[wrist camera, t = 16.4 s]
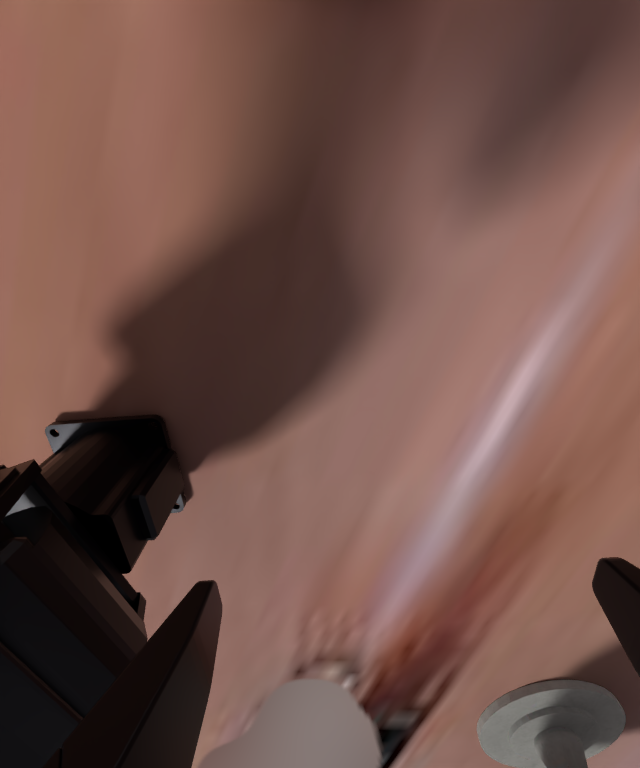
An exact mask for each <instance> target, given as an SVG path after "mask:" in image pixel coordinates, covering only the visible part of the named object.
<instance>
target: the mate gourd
mask: <svg viewBox="0 0 640 768" xmlns="http://www.w3.org/2000/svg"><path fill="white" fill-rule="evenodd" d="M625 724H626V715H625V712H624V710H623V708H622V706H621V705H620V703H619V701H618V700H617V699H616V697H615V696H614V695H613V694H612V693H611V692H610V691H608V690H607V689H605V688H604V687H601V686H599V685H596V684H593V683H590V682H585V681H580V680H550V681H544V682H539V683H534V684H530V685H527V686H524V687H520V688H518V689H516V690H513V691H511V692H509V693H507V694H505V695H503V696H502V697H500V698H498V699H497V700H495V701H494V702H493V703H492V704H491V705H489V706H488V707H487V708H486V709H485V711H484V712H483V713H482V714H481V716H480V718H479V721H478V723H477V734H478V738H479V741H480V744H481V747H482V749H483V750H484V751H485V753H486V754H487V755H488V756H490V757H491V758H492V759H494V760H496V761H498V762H500V763H502V764H505V765H509V766H512V767H518V768H588V767H587V762H586V759H587V758H590V757H592V756H594V755H596V754H598V753H600V752H601V751H603V750H604V749H606V748H607V747H609V746H610V745H611V744H612V743H613V742H614V741H615V740H617V738H618V737H619V736H620V734H621V733H622V732H623V729H624V726H625Z"/></svg>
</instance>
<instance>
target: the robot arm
mask: <svg viewBox="0 0 640 768" xmlns="http://www.w3.org/2000/svg"><path fill="white" fill-rule="evenodd" d="M151 422H154V423H156V425H157V427H155V426H153V425H152V424H151ZM55 429H56V430H57V431H58V432H59V433H57V432H56V431H55ZM45 433H46V436H47V438H48V441H49V443H50V445H51V448H52V450H53V453H54V454H52V455H51V456H50V457H49V458H48V459H46V460H45V461H44V462H43V463H41V464H40V465H38V464H37V463H36V461H35V460H34V459H33V460H30V461H27V462H24V463H21V464H18V465H16V466H13V467H10V468H6V466H5V465H0V768H191V767H192V762H193V758H194V754H195V750H196V746H197V742H198V738H199V734H200V730H201V726H202V722H203V718H204V714H205V710H206V706H207V702H208V697H209V693H210V688H211V683H212V677H213V670H214V663H215V657H216V650H217V644H218V637H219V631H220V624H221V617H222V602H221V598H220V594H219V590H218V586H217V583H216V582H215V581H214V580H208V581H199V582H197V583H196V584H195V585H194V586H193V588H192V589H191V590H190V591H189V592H188V594H187V595H186V596H185V597H184V598H183V600H182V601H181V602H180V603H179V604H178V606H177V607H176V608H175V609H174V610H173V612H172V613H171V614H170V615H169V616H168V618H167V619H166V620H165V621H164V622H163V624H162V625H161V626H160V627H159V628H158V630H157V631H156V632H155V633H154V634H153V636H152V637H151V638H150V639H149V640H148V642H147V634H146V629H145V624H144V622H143V621H144V614H145V606H146V600H145V598H144V597H143V596H142V595H141V593H140V592H136V591H135V590H134V589H133V587H132V586H131V585H130V584H129V582H128V581H127V580H126V579H125V577H124V576H123V575H122V574H127V573H130V571H131V570H132V568H133V566H134V565H135V563H136V561H137V559H138V558H139V556H140V554H141V552H142V550H143V549H144V547H145V545H146V543H147V541H148V540H155V539H156V537H157V536H158V535H159V533H160V532H161V530H162V528H163V526H164V524H165V522H166V520H167V518H168V517H169V515H170V513H177V512H181V511H182V510H183V509H184V507H185V505H186V499H185V496H184V492H183V488H184V482H183V478H182V474H181V471H180V467H179V463H178V460H177V456H176V452H175V451H174V450H173V449H172V448H171V444H170V441H169V437H168V433H167V430H166V426H165V422H164V420H163V419H162V418H161V417H160V416H158V415H143V416H129V417H115V418H101V419H87V420H73V421H59V422H53V423H52V424H50V425H49V426H48V427H46V429H45ZM175 503H178V504H179V505H177V504H175ZM592 587H593V591H594V594H595V596H596V598H597V600H598V601H599V603H600V605H601V607H602V609H603V611H604V613H605V615H606V616H607V618H608V620H609V622H610V624H611V626H612V628H613V630H614V631H615V633H616V635H617V637H618V639H619V641H620V643H621V645H622V647H623V648H624V650H625V652H626V654H627V656H628V658H629V659H630V661H631V663H632V665H633V666H634V668H635V670H636V671H637V673H638V675H639V676H640V569H639V568H638V567H636V566H634V565H633V564H631V563H629V562H628V561H626V560H624V559H622V558H618V557H610V558H601V559H600V560H599V561H598V564H597V567H596V571H595V574H594V578H593V581H592Z"/></svg>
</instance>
